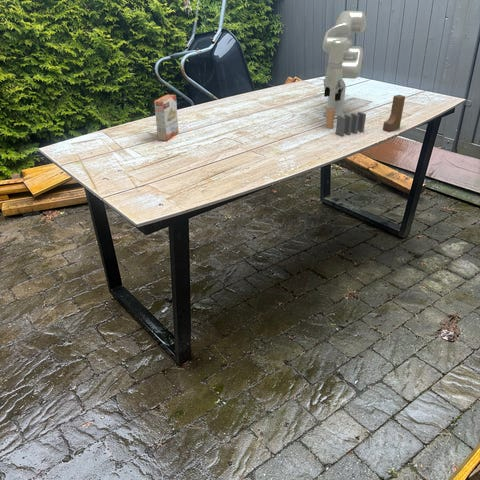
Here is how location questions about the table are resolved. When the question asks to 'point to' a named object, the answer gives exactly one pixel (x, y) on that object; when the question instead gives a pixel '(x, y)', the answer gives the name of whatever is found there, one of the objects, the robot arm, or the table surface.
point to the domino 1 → (330, 117)
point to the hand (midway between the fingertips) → (332, 98)
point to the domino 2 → (340, 125)
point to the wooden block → (395, 114)
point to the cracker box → (166, 117)
